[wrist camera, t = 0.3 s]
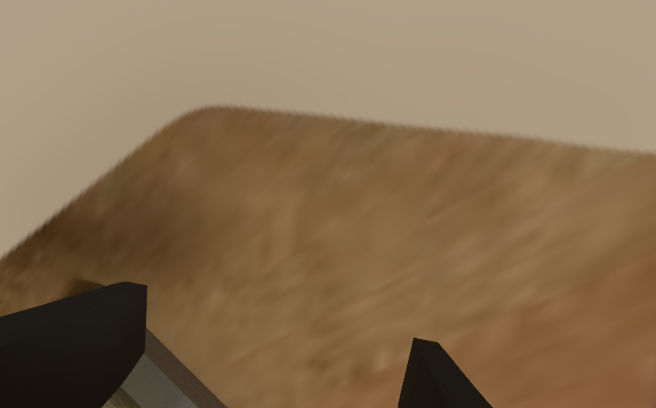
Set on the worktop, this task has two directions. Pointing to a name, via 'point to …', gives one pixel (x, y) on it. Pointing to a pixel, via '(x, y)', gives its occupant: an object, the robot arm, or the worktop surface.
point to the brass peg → (121, 400)
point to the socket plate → (165, 380)
